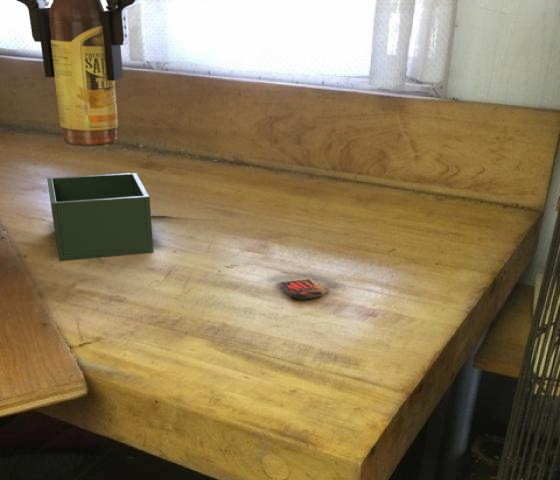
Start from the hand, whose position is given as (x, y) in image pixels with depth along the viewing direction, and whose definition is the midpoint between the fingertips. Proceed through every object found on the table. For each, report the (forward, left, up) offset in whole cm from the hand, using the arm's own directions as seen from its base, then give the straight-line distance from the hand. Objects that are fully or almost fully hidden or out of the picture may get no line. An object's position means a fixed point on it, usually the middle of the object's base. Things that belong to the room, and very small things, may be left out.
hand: (84, 76), depth 75 cm
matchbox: (+26, -10, -19) cm, 33 cm away
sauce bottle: (0, 0, -7) cm, 7 cm away
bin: (0, 0, -19) cm, 19 cm away
